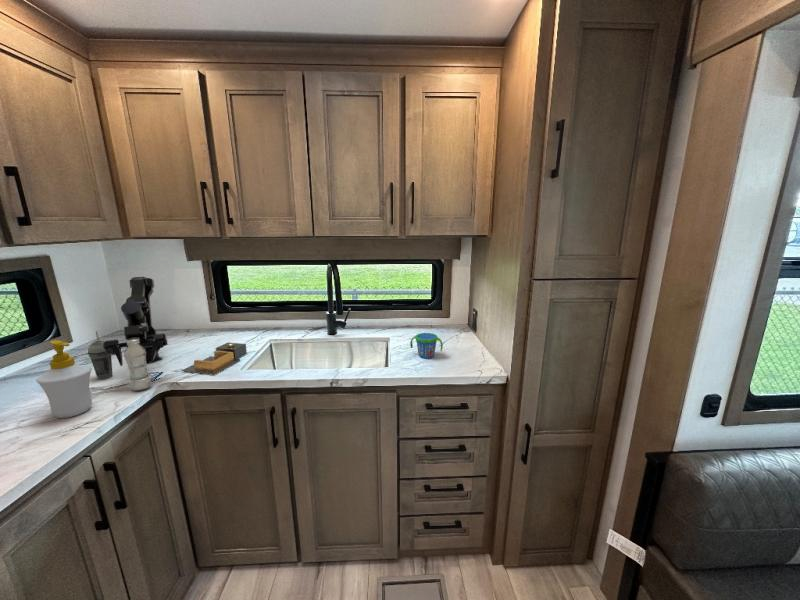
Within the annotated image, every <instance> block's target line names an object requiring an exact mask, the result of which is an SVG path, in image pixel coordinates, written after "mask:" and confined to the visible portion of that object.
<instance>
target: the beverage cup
mask: <svg viewBox="0 0 800 600" xmlns="http://www.w3.org/2000/svg"><path fill="white" fill-rule="evenodd" d="M95 335H96V341H94V342H92V343H91V344H90V345H89V346H88V347H87V348H88V349H87V354H88V356H89V358H90V360H91V363H92V366H93V370H94V372H95V375H96V377H97V379H98V380H99V381H100V380H101V381H102V380H104V381H105V380H107V379H110V378H112V377H113V363H112V354H108V353H107V352H106V351H105V349H104V348H103V343H104V342H105V341H106V340H100V337H99V332H98V330H95Z"/></svg>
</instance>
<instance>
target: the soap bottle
mask: <svg viewBox="0 0 800 600" xmlns="http://www.w3.org/2000/svg"><path fill="white" fill-rule="evenodd" d="M49 343H50V344H51V345H53V350H54V351H55V352H56V354H54V355H53V356H52V359H51V360H50V361H49V366H50V369H49V370H48V371H46V372H45V373H43V374H40V375H39V376H38V377H37V378H36V379H35V381H36V383H38V384H39V386H40V387H41V389H42V390H43V392H44V393H45V395H46V397H47V399H48V402H49V406H50V411H51V413H52V415H53V416H54V417H55V418H58V419H67V418H71V417H75V416H79V415H81V414H83V413H85V412H87V411H88V410H90V408H91V406H92V404H93V400H92V396H91V395H92V394H91V391H90V379H91V373H92V369H93V368H92V367H91V366H89V365H85V364H84V365H83V364H79V363H76V361H75V358H74V357H73V356H70V354H69V353H68V352H64V349H65V347H69V346H70V343H69V342H67V341H66V342H65V341H63V340H59V339H55V340H54V339H53V340H51V341H50V342H49Z"/></svg>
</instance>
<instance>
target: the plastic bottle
mask: <svg viewBox="0 0 800 600" xmlns="http://www.w3.org/2000/svg"><path fill="white" fill-rule="evenodd" d="M125 342H127V345H128V347H125V350H124V351H123V352H124V353H123V356H124V359H125V361H126V364H127V368H128V372H129V374H128V375H129V380H128V381H129V388H130V389H131V390H132V391H135V392H136V391H137V392H139V391H144V390H147V389H149V388H150V387H151V385H152V377H151V376H150V373H149V371H148V367H147V363H146V350H145V348H144V347H143V346H141V345H140V344H139V343H140V341H139V338H138V337H135V338H129V339H127V340H126V339H125Z"/></svg>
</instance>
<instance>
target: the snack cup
mask: <svg viewBox="0 0 800 600" xmlns="http://www.w3.org/2000/svg"><path fill="white" fill-rule="evenodd" d="M414 339H415V343H416V347H417V354H418V357H420V358H421V359H432V358H433V357H434V356H435V351H436V345H437V341H438V342H439V343H440V352H442V351H443V347H444V346H443V345H444V344H443V341H442V339H441V338H440V337H438V335H437V334H435V333H431V332H421V333H418V334H416V335H414V336H413V337H411V340H410V342H409V343H410V345H409V346H410V348H411V349H412V348H414V345H413V340H414Z"/></svg>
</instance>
